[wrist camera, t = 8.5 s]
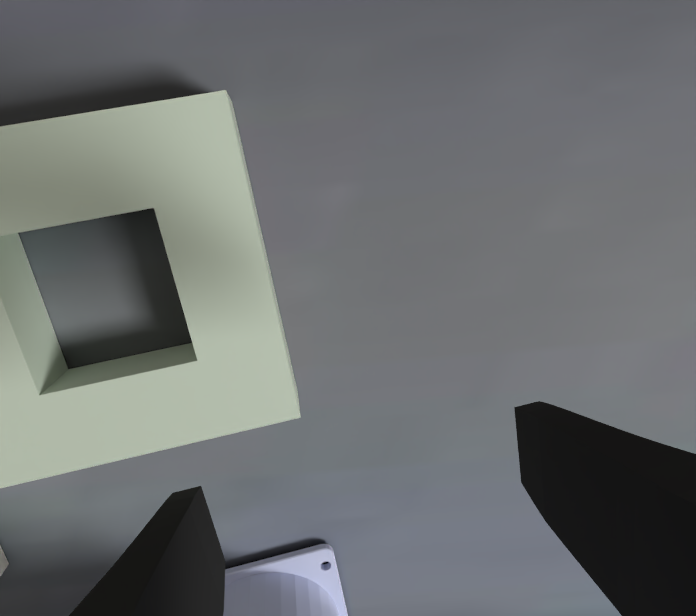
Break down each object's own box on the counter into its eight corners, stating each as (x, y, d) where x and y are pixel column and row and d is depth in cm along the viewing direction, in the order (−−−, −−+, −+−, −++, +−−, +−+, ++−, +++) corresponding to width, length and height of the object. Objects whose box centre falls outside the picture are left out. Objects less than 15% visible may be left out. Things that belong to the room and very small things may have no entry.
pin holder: (297, 391, 21) (300, 417, 19) (14, 455, 20) (-21, 493, 17) (232, 103, 18) (225, 90, 15) (-112, 159, 16) (-177, 154, 14)
